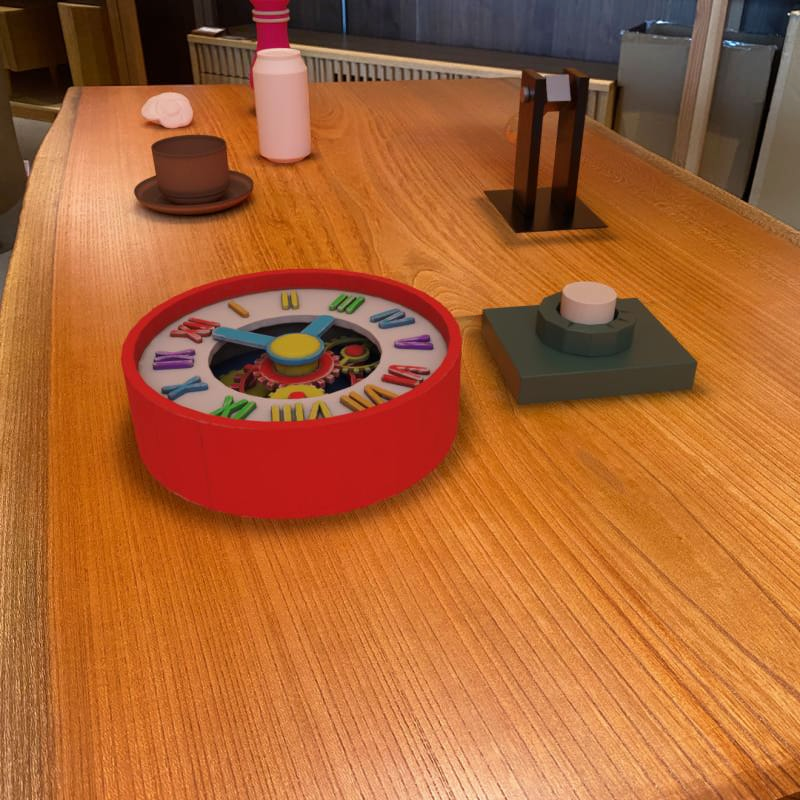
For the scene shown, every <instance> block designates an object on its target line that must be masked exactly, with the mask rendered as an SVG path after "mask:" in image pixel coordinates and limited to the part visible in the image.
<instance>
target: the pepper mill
mask: <svg viewBox="0 0 800 800" xmlns="http://www.w3.org/2000/svg"><path fill="white" fill-rule="evenodd" d="M290 1H291V0H249V2H250V3H251V5H253V7H254V8H253V9H252V10H251V13H252V21H253V22H255V25H256V34H257V35H256V42H257V43H256V48H255V53H254V56H253V60H252V62H251V66H250V70H249V71H250V72H249V85H250V87H251V89H252V90H253V91H254V83H253V71H252V69H253V67H254V64H255V61H256V59H257V52H258V51H261V50H265V49H274V48H288V49H292V48H291V45H290V42H289V36H288V22H289V21H290V20H291V17H290V14H289V13H290V8H287V6H288V4H289V2H290Z"/></svg>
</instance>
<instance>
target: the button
mask: <svg viewBox="0 0 800 800" xmlns="http://www.w3.org/2000/svg"><path fill="white" fill-rule="evenodd" d="M561 291H562V299H561V308H560V315H561V317H564V318H566V319H568V320H570V321H572V322H575V323H581V324H587V325H593V324H606V323H609V322H611V321H612V320H613V318H614V312H615V305H616V298H618V293H617V291H616V290H615V289H614V288H612V287H611V286H609V285H607V284H604V283H601V282H595V281H586V280H585V281H584V280H582V281H580V280H579V281H574V282H570V283H568V284H566V285H564V286H563V288H562V290H561Z"/></svg>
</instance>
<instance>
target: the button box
mask: <svg viewBox="0 0 800 800" xmlns="http://www.w3.org/2000/svg"><path fill="white" fill-rule="evenodd" d="M562 291H563V290H561V291H558V292H555V293H553V294H550V295H548V296H545V297H543V298H542V300H541V302H540V303H539V304H530V305H518V306H504V307H503V306H502V307H490V308H489V307H487V308H483V309H482V311H481V312H482V313H481V326H480V327H481V328H480V335H481V337H482V339H483V341H484V343H485V344H486V346H487V348H488V350H489V352H490V354H491V356H492V358H493V360H494V361H495V364H496V366H497V367H498V369H499V371H500V373H501V375H502V378H503V379H504V380H505V383H506V385H507V386H508V388H509V390H510V392H511V393H512V396H513V398H514V400H515V401H516V403H517V405H519V406H523V405H524V406H525V405H532V404H534V405H535V404H545V403H553V402H554V403H556V402H557V403H558V402H565V401H566V402H567V401H578V400H579V401H580V400H588V399H590V400H591V399H600V398H610V397H611V398H612V397H622V396H632V395H633V396H635V395H644V394H656V393H666V392H678V391H689V390H693V386H694V382H695V378H696V377H695V376H696V373H697V368H698V364H699V363H698V360H697V359H695V357H694V356H693V355H692V354H691V353H690V352H689V351H688V350H687V348H686V347H684V346H683V344H681V343H680V342H679V340H678V339H677V338H676V337H675V336H674V335H673V334H672V333H671V332H670V331H669V330H668V328H667V327H665V325H664V324H663V323H662V322H661V321H660V320H659V319H658V318H657V317H656V316H655V315H654V314H653V313H652V312H651V310H649V308H647V306H645V304H644V303H643V302H642V301H641V300H640V299H639V298H638V297H626V298H619V297H617V298H616V305H615V312H614V318H613V320H612V321H611V322H609V323H606V324H593V325H587V324H581V323H575V322H572V321H570V320H568V319H566V318H564V317H561V315H560V308H561V299H562Z"/></svg>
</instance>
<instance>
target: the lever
mask: <svg viewBox="0 0 800 800" xmlns="http://www.w3.org/2000/svg"><path fill="white" fill-rule="evenodd" d="M544 77H545V78H546V79H547V80H546V92H545V103H544V114H543V118H544V117H545V116H546V115H547V113H555V112H557V113H559V111H562V110H563V109H564V107H565V106H566V105H567V104H568V103H569V102H570V101H571V95H570V84H569V75H563V74H546V75H544ZM518 118H519V111H517V112H515V113H513V114H512V115H510V117H509V118H508V119H507V122H506V123H505V128H504V133H505V137H506V139H507V141H508V142H509V144H511V145H512V146H513V147H516V144H517V131H518Z"/></svg>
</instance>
